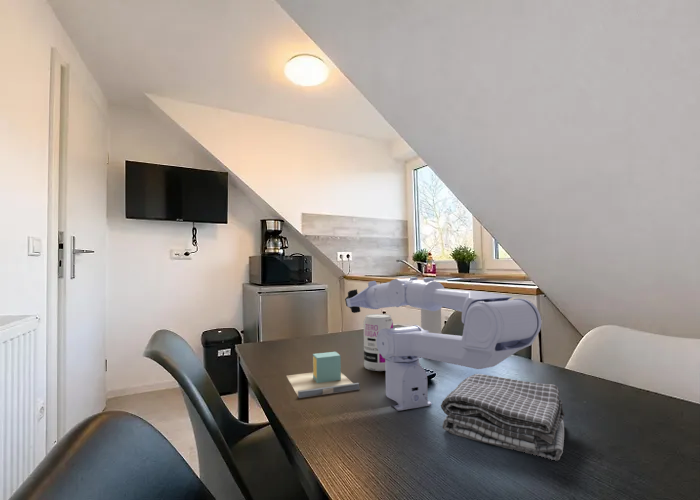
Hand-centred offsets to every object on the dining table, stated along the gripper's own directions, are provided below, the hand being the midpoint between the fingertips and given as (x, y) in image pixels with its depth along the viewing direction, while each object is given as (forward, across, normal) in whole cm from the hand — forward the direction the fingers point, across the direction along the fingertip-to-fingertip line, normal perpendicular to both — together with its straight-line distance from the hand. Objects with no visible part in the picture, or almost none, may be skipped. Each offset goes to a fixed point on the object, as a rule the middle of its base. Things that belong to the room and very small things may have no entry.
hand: (359, 299), depth 95 cm
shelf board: (-1, +16, +18) cm, 24 cm away
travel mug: (+7, -24, +23) cm, 34 cm away
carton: (0, +13, +17) cm, 22 cm away
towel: (-36, -4, +27) cm, 46 cm away
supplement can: (+3, -3, +20) cm, 21 cm away
